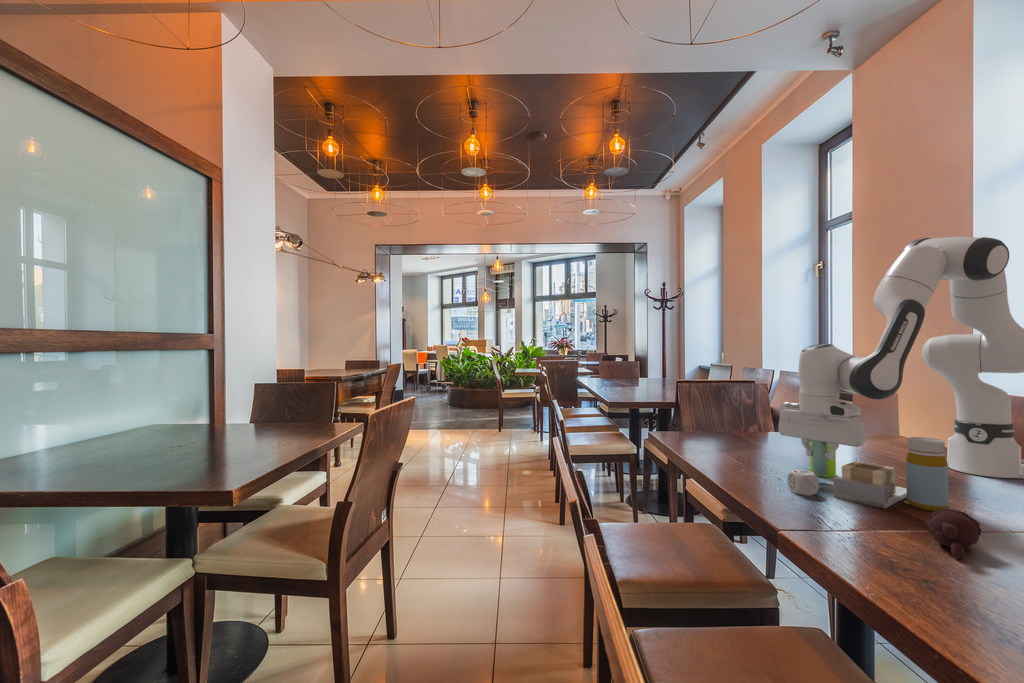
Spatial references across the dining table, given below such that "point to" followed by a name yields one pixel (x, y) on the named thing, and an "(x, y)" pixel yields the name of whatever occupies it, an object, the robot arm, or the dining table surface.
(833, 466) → the soap dispenser
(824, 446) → the dowel
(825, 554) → the dining table surface
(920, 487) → the bottle
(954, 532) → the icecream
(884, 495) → the grey l-shaped tray
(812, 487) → the die
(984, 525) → the dining table surface
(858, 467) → the block
